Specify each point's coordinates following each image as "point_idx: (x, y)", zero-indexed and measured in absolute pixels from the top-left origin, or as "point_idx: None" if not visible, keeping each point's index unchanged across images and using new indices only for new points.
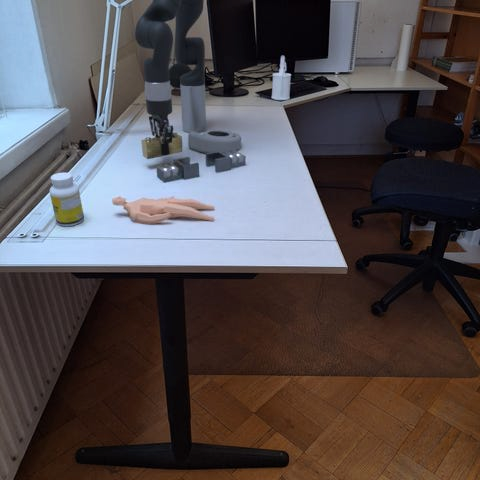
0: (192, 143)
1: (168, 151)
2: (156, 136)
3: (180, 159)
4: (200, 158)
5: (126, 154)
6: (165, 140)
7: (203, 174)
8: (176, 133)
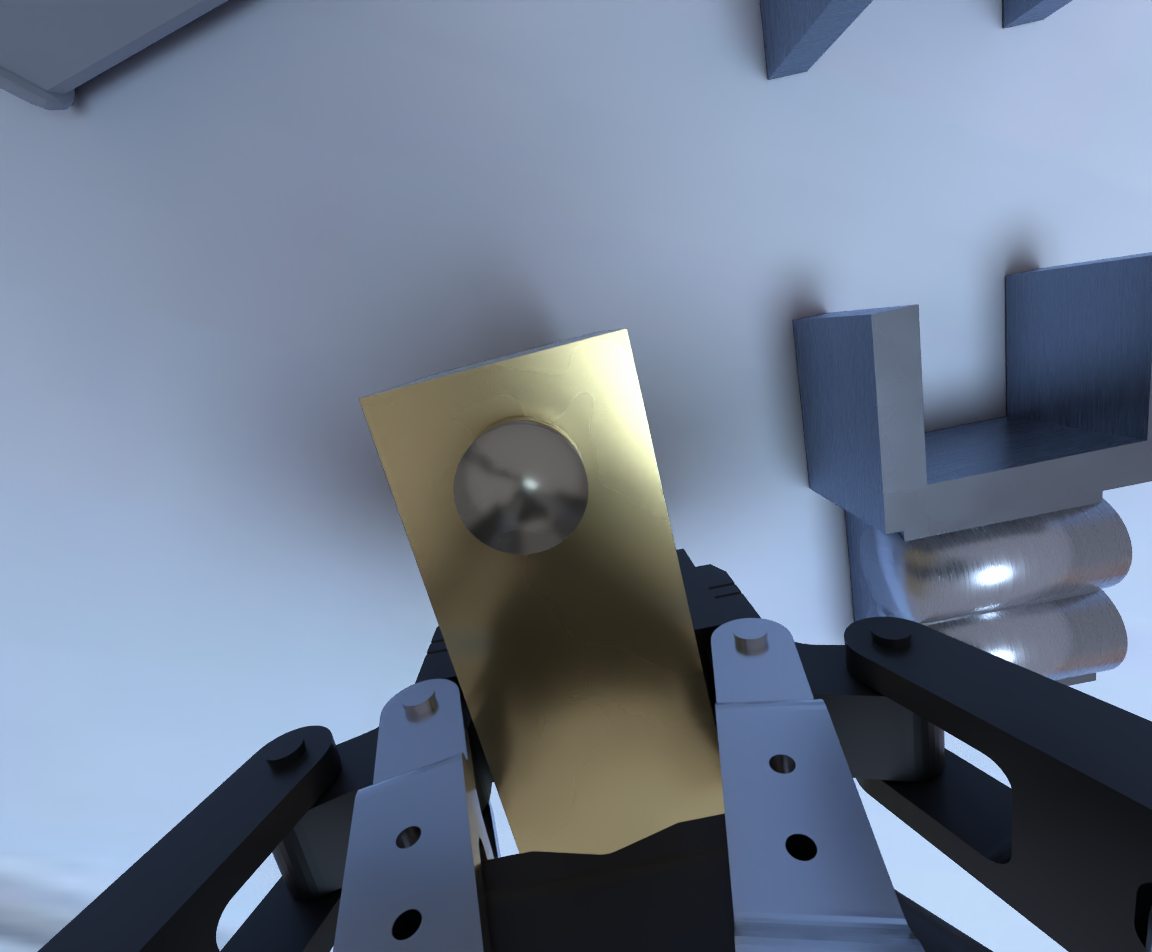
0: (57, 19)
1: (731, 581)
2: (492, 832)
3: (922, 447)
4: (488, 66)
5: (170, 814)
6: (986, 784)
7: (1008, 204)
8: (548, 451)
